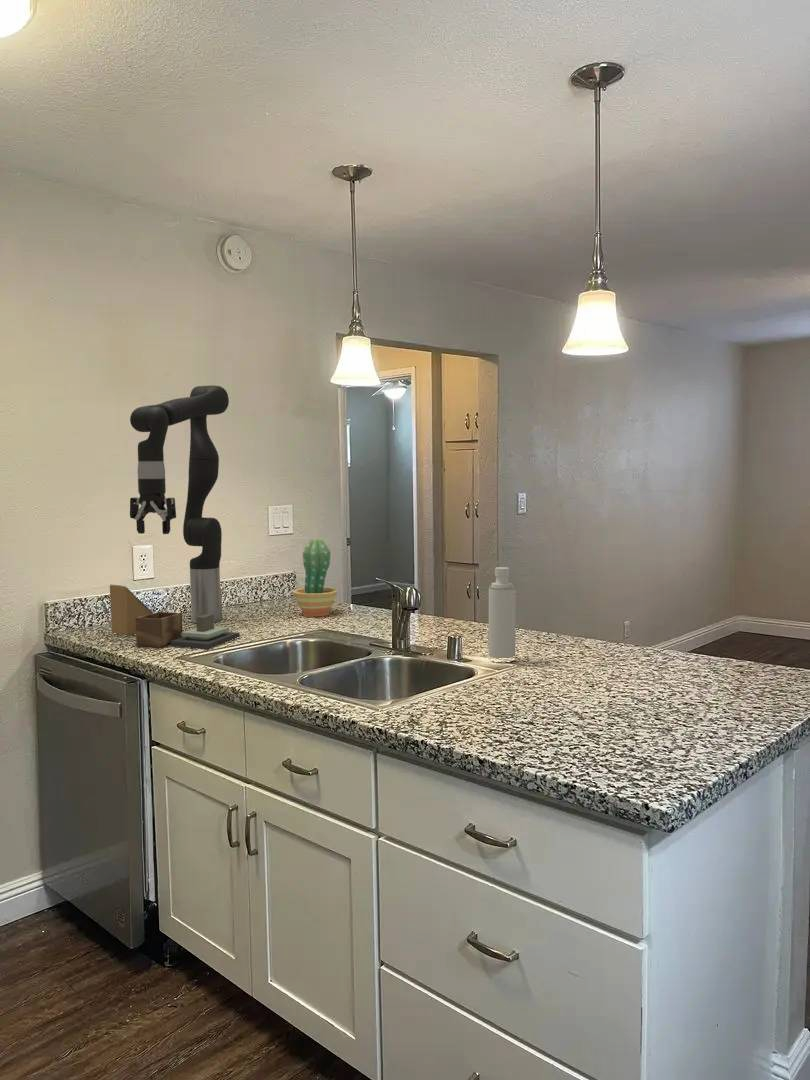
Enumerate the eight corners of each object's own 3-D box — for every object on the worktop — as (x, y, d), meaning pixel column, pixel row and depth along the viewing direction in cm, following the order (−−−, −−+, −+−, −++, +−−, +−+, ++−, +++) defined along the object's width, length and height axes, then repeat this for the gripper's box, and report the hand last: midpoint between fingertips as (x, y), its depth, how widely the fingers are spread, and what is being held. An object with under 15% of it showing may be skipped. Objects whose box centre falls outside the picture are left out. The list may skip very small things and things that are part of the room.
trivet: (204, 635, 240) (204, 630, 240) (239, 637, 236) (239, 632, 236) (170, 646, 225) (170, 641, 225) (207, 649, 221) (207, 644, 221)
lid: (203, 632, 237) (203, 611, 236) (229, 634, 234) (228, 613, 233) (181, 639, 227) (180, 618, 226) (207, 641, 224) (207, 620, 223)
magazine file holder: (172, 629, 250) (170, 580, 249) (127, 637, 238) (125, 586, 237) (155, 625, 256) (153, 578, 254) (111, 633, 244) (109, 584, 242)
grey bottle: (506, 664, 201) (507, 563, 199) (483, 660, 205) (483, 562, 203) (520, 659, 207) (520, 561, 204) (497, 655, 211) (497, 559, 208)
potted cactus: (348, 613, 273) (347, 539, 271) (314, 620, 262) (312, 542, 260) (317, 608, 283) (315, 536, 281) (282, 615, 272) (281, 540, 270)
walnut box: (159, 639, 235) (158, 611, 234) (182, 641, 232) (181, 613, 231) (136, 646, 225) (135, 617, 224) (160, 648, 222) (159, 619, 222)
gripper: (180, 477, 235) (182, 533, 237) (139, 477, 240) (141, 532, 242) (164, 477, 228) (166, 535, 230) (122, 477, 233) (124, 534, 235)
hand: (153, 533), depth 236 cm, fingers open, 8 cm apart
